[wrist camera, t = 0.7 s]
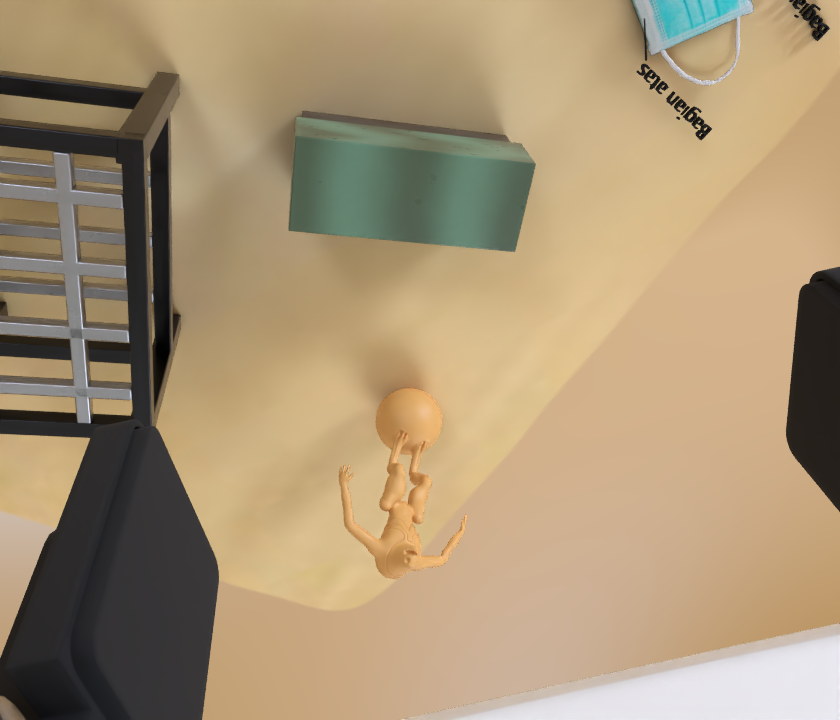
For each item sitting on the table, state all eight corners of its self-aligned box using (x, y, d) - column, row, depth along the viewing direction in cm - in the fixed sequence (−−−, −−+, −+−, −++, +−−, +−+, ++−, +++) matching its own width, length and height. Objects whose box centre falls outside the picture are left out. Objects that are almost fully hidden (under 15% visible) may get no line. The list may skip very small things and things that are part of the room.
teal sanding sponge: (290, 191, 41) (288, 231, 37) (296, 104, 39) (295, 136, 35) (495, 213, 43) (515, 252, 39) (513, 130, 41) (536, 163, 37)
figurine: (477, 405, 50) (520, 545, 40) (424, 470, 53) (452, 617, 43) (365, 350, 47) (381, 487, 37) (314, 421, 49) (316, 568, 39)
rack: (-53, 45, 36) (-162, 106, 27) (179, 74, 37) (142, 140, 29) (-12, 316, 43) (-88, 430, 35) (180, 329, 45) (152, 441, 36)
